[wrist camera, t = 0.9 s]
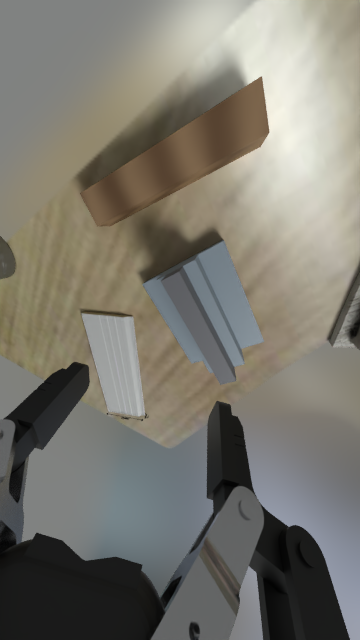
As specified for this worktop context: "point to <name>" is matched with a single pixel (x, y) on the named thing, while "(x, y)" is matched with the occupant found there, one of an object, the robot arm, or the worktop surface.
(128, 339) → the baseboard molding
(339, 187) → the worktop surface
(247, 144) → the walnut batten
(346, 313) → the packaged product
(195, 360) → the ridge stand
